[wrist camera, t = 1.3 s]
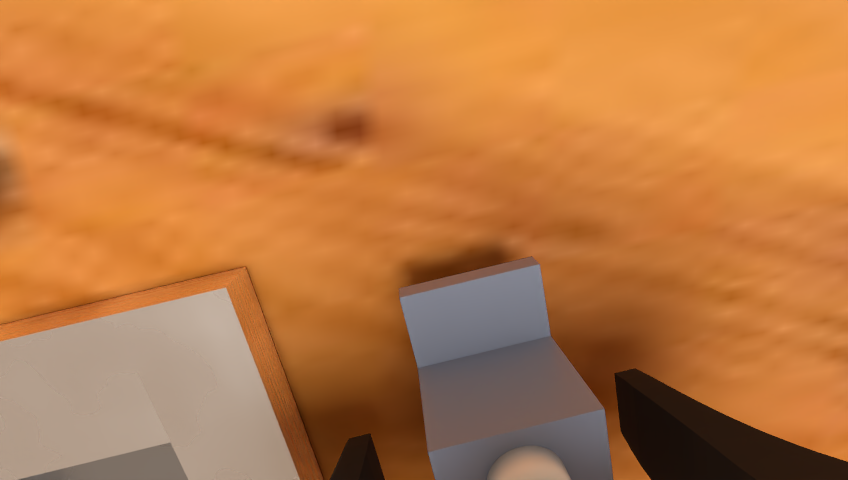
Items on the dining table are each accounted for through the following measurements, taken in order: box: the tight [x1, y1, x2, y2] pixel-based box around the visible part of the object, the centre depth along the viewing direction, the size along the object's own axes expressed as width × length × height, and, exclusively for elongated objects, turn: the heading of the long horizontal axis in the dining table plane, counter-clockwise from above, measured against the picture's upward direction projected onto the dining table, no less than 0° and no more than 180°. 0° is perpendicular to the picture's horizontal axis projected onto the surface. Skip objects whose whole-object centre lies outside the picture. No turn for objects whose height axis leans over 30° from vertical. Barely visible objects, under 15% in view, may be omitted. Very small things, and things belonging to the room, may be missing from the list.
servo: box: [399, 257, 613, 480], centre depth 12 cm, size 10×4×6 cm, turn 13°
